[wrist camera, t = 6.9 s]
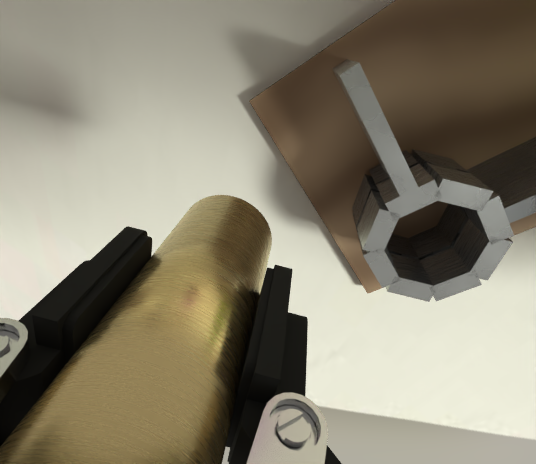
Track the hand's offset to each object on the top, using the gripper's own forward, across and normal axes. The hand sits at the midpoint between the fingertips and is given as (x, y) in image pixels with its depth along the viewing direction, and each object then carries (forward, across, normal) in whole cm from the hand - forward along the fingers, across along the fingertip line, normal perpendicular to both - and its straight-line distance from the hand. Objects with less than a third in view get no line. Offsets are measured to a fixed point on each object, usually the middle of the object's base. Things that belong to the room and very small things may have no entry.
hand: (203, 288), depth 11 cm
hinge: (+16, -11, -4) cm, 19 cm away
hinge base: (+17, -11, -3) cm, 20 cm away
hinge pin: (+3, 0, 0) cm, 3 cm away
